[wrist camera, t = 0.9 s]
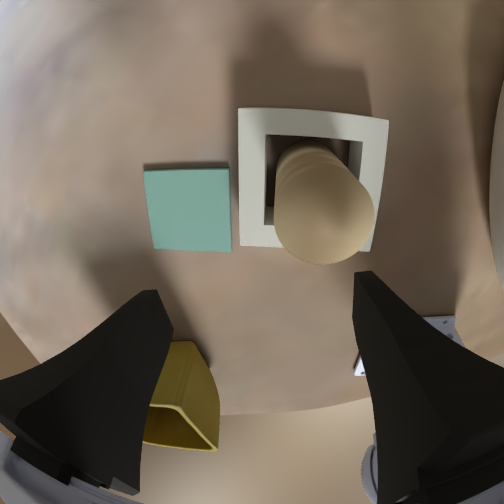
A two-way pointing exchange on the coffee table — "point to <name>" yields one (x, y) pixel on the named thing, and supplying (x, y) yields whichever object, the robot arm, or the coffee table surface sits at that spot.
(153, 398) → the flower pot
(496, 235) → the bowl
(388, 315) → the robot arm
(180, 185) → the pad
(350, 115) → the socket block
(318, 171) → the dowel
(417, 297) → the coffee table surface
